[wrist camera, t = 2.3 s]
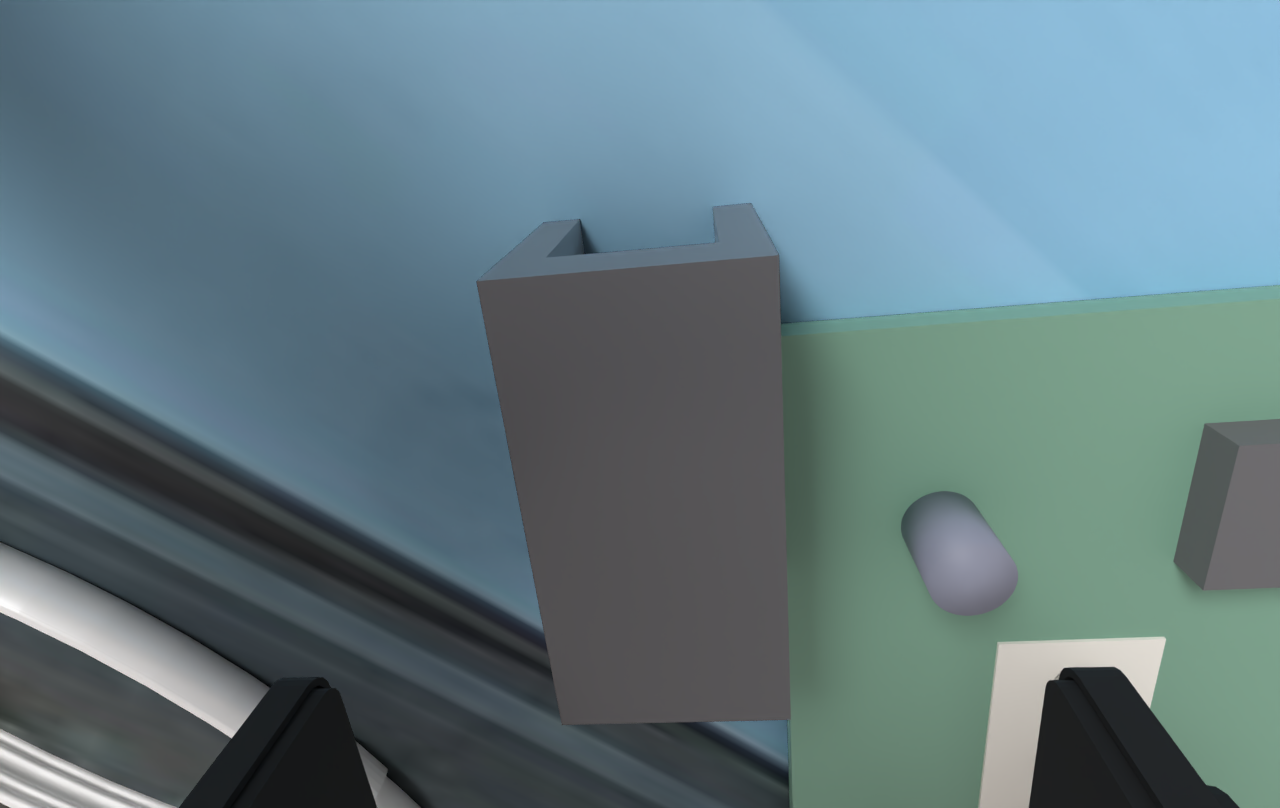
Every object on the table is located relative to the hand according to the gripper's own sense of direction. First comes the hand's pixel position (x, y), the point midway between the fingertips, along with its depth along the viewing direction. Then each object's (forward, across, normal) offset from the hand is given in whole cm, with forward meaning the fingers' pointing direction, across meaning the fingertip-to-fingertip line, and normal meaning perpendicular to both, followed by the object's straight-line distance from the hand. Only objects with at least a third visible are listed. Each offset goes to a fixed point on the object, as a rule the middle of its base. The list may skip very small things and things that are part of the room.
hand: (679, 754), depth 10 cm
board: (+11, -10, +9) cm, 18 cm away
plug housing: (+11, +1, -1) cm, 11 cm away
